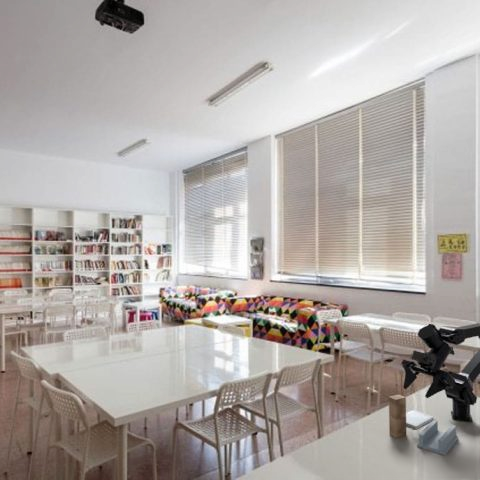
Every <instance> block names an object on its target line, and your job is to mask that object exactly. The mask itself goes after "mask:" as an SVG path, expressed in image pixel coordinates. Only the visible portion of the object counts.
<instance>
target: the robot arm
mask: <svg viewBox="0 0 480 480" xmlns="http://www.w3.org/2000/svg"><path fill="white" fill-rule="evenodd" d="M417 336H418V338H419V339H420V340H421V341H422V342H423V343H424V345H425V346H426V347H427V348H428V349H429V351H428V352H427V351H425V352H421V351H418V350H415V349H414V350H413V351H412V355H411V358H410V359H407V358H405V359H403V360H402V362H401V363H400V365H401V366H402V369H404V372H405V374H404V375H405V377H404V381H403V389H404V390H407V389H408V388H409V387H410V386H411V385H412V383H414V382H415V381H416V380H417V378H418V375H419V374H423V375H425V376H428V377H431V378H432V382H431V384H430V386H429V388H428V389H427V390H426V393H425V396H424V397H425V398H426V399H429V398H432V397H433V396H434V395H436V394H438V393H441V392H443V391H444V393H445V396H446V398H448V399H451V401H452V404H451V405H452V410H451V411H450V416H451V420H456V421H465V422H471V423H472V422H473V420H474V419H473V417H472V415H471V406H475V404H477V400H478V397H477V396H476V395H475V393H474V392H473V391H474V384H473V383H474V382H475V381H476V379H477V378H478V377H479V375H480V348H478V350H477V351H476V352H475V354H474V355H473V356H472V357H471V359H470V360H469V361H468V362H467V364H465V366H463V367H464V368H463V369H462V370H461V371H460V372H459V373H457V372H454V371H452V372H451V373H449V371H446V370H443V369H444V368H445V367H446V364H445V362H446V360H447V358H448V357H449V356H450V355H452V356H454V355H455V351H454V347H453V346H450V344H451V345H455V346H459V345H460V344H462V343H465V340H467V339H471V338H474V337H477V338H478V339H479V340H480V322H476V323H472V324H468V325H462V326H448V325H447V326H446V325H443V326H440V327H439V328H438V329H437V327H436V325H435V323H434V324H433V323H428V325H425V326H422V328H420V329H419V330H418V333H417ZM413 360H414V361H413ZM415 361H416V362H417V364H418V365H417V364H416V363H415ZM441 368H443V369H441Z"/></svg>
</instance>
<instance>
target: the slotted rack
mask: <svg viewBox="0 0 480 480" xmlns="http://www.w3.org/2000/svg"><path fill="white" fill-rule="evenodd" d="M438 426H439V424H438V420H437V419H436V420H435V419H434V420H432V421H430V422H429V423H428V425H427V426H426V427H425V428H424V429H423V430H422V431H421V432H419V433H418V442H417V448H421V449H424V450H427V451H430V452H434V453H437V454H440V455H442V456H446V454H447V453H448V452H449V451H450V449H452V447H453V446H454V444H455V443H456V442H457V441H458V440H459V435H457V425H454V424H451V425H450V426H449V428H448V429H447V430H446V431H443V430H439V429H438V428H439V427H438Z"/></svg>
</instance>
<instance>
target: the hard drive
mask: <svg viewBox="0 0 480 480" xmlns="http://www.w3.org/2000/svg"><path fill="white" fill-rule="evenodd" d="M433 419H434V416H432V415H429V414H426V413H423V412H420V411H418V410H415V409H414V410H413V409H412V410H410V411H408V412H406V427H409V428H412V429H413V430H417V429H419V428H421V427H422V426H424V425H427V424H429V423H431V422H432V421H433ZM434 420H435V419H434ZM426 423H427V424H426Z"/></svg>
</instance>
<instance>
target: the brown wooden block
mask: <svg viewBox="0 0 480 480" xmlns="http://www.w3.org/2000/svg"><path fill="white" fill-rule="evenodd" d="M406 413H407V398H406V396H403V395H401V394H395V395H391V396H388V419H389V420H388V423H389V424H388V425H389V426H388V427H389V428H388V429H389V432H388V433H389V435H390V436H392V437H394V438H396V439H398V438H402V437H405V436H407V426H406Z"/></svg>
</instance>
